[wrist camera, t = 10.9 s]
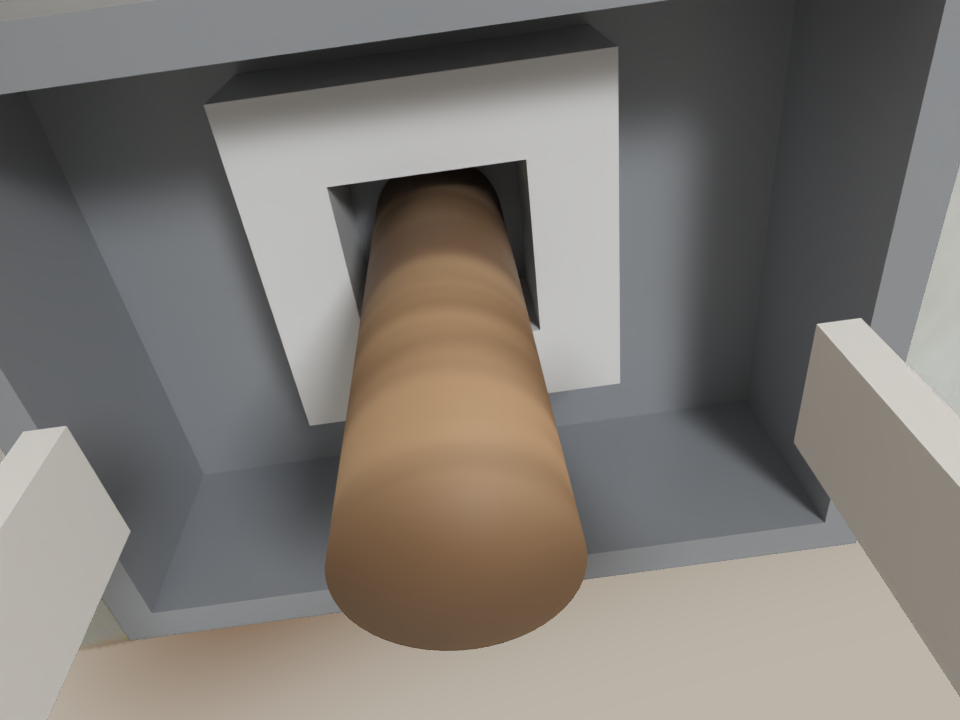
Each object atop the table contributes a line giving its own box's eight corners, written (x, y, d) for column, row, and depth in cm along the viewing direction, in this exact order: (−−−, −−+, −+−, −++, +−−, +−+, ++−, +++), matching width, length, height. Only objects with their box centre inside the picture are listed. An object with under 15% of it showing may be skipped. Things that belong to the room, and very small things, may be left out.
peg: (364, 166, 21) (293, 496, 10) (494, 147, 21) (583, 457, 10) (389, 282, 23) (356, 664, 12) (507, 265, 23) (591, 633, 12)
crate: (-48, 8, 19) (-261, 58, 13) (844, -120, 18) (1039, -126, 13) (188, 489, 29) (129, 640, 23) (767, 411, 28) (855, 543, 23)
